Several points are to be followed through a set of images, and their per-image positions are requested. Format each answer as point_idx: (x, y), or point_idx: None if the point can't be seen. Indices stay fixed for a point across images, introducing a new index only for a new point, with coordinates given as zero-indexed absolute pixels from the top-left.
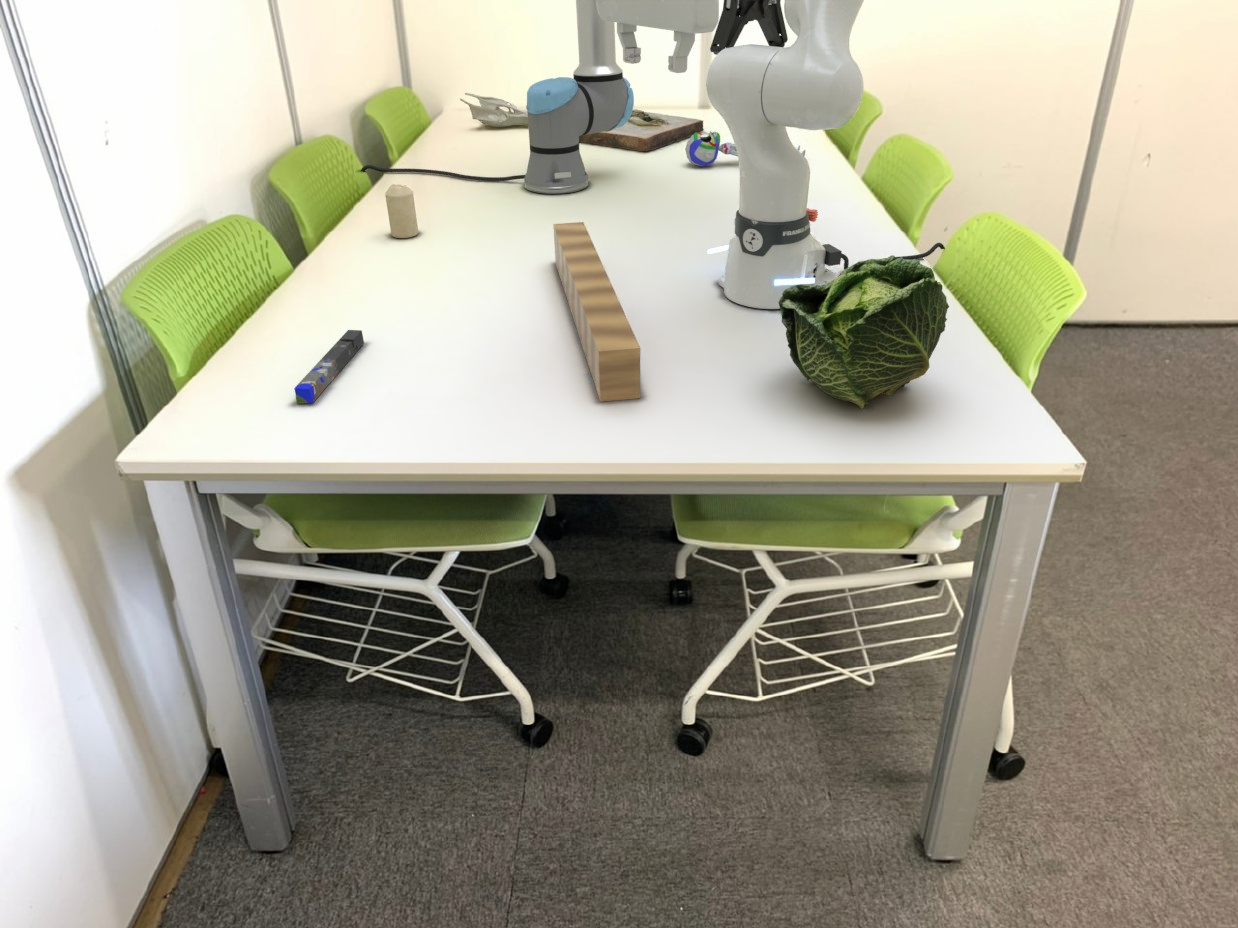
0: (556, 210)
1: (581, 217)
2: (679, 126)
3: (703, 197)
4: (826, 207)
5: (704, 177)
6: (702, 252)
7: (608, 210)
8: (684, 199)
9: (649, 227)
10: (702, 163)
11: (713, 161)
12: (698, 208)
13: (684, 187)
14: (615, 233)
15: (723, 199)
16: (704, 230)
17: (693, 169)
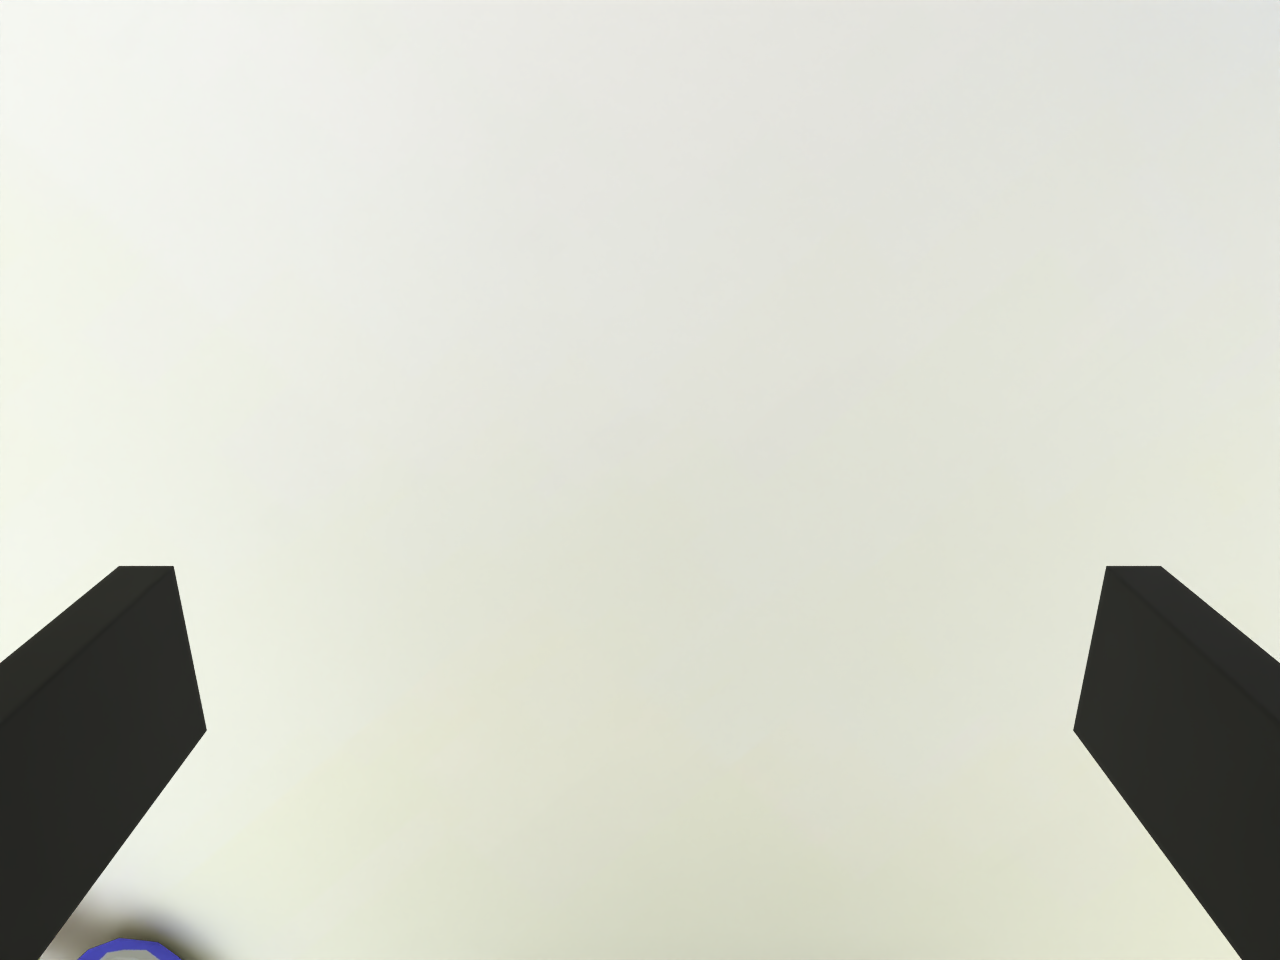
0: (1068, 922)
1: (1084, 806)
2: None
3: (499, 663)
4: (124, 109)
5: (265, 853)
6: (1193, 89)
7: (938, 800)
8: (587, 698)
9: (1023, 531)
10: (168, 958)
11: (111, 943)
12: (647, 568)
13: (450, 812)
14: (1182, 573)
15: (452, 582)
16: (900, 322)
17: (217, 955)
